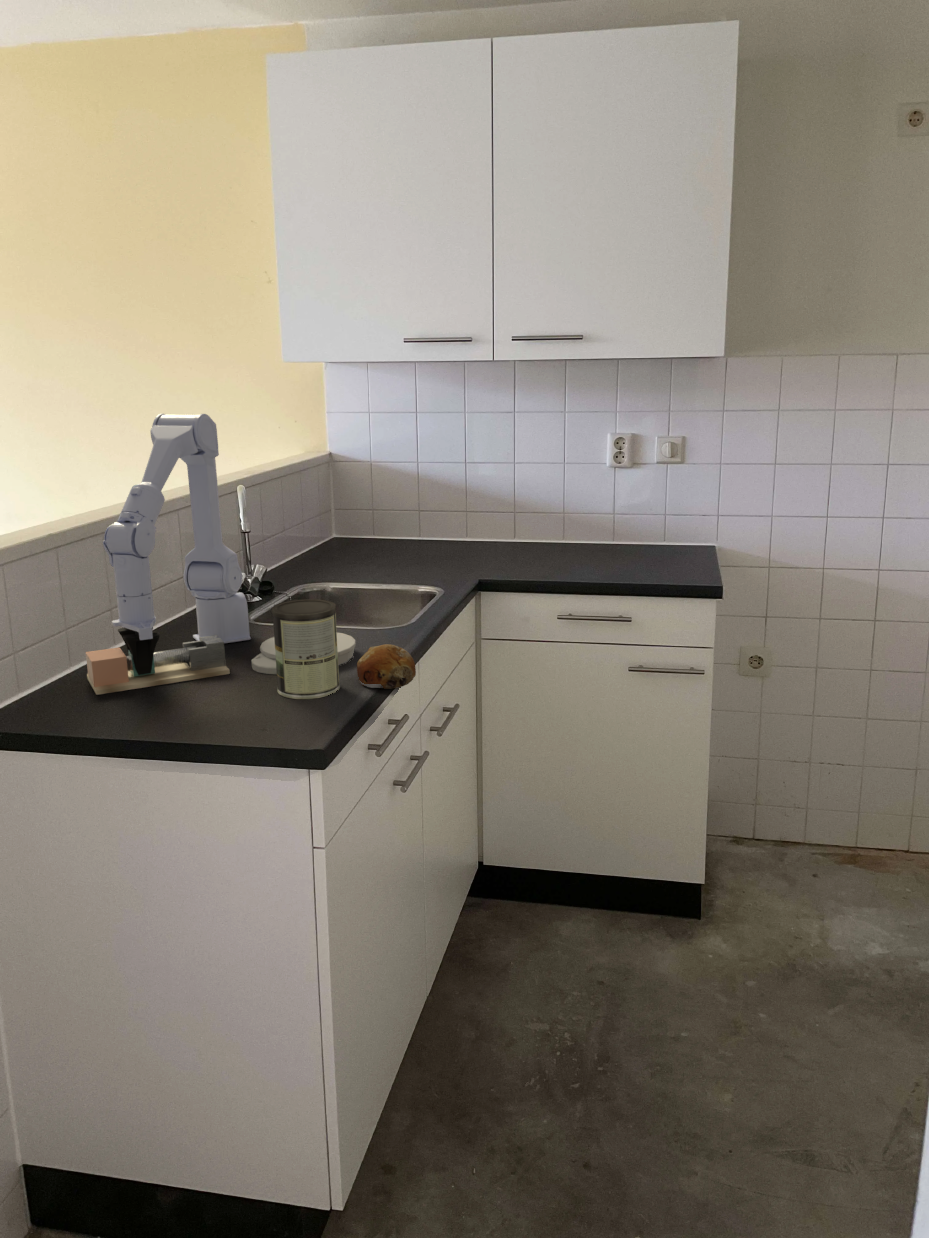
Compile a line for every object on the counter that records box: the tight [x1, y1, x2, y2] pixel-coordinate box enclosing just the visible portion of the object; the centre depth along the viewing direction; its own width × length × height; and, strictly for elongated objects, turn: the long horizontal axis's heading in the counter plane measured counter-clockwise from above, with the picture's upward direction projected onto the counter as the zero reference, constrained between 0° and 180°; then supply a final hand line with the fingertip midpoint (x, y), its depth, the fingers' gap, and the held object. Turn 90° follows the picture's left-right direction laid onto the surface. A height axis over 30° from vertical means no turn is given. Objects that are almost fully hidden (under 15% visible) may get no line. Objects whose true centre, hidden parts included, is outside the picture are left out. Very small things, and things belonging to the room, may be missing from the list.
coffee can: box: [271, 598, 341, 700], centre depth 161 cm, size 10×10×14 cm
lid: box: [251, 632, 357, 675], centre depth 179 cm, size 17×20×3 cm
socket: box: [85, 646, 129, 687], centre depth 166 cm, size 6×6×4 cm
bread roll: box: [356, 643, 417, 690], centre depth 166 cm, size 10×10×8 cm
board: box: [86, 663, 231, 696], centre depth 170 cm, size 22×10×1 cm, turn 118°
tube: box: [125, 647, 196, 676], centre depth 169 cm, size 15×3×4 cm, turn 118°
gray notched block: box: [182, 635, 227, 671], centre depth 173 cm, size 6×5×4 cm
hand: (142, 670), depth 169 cm, fingers closed on tube, 3 cm apart
